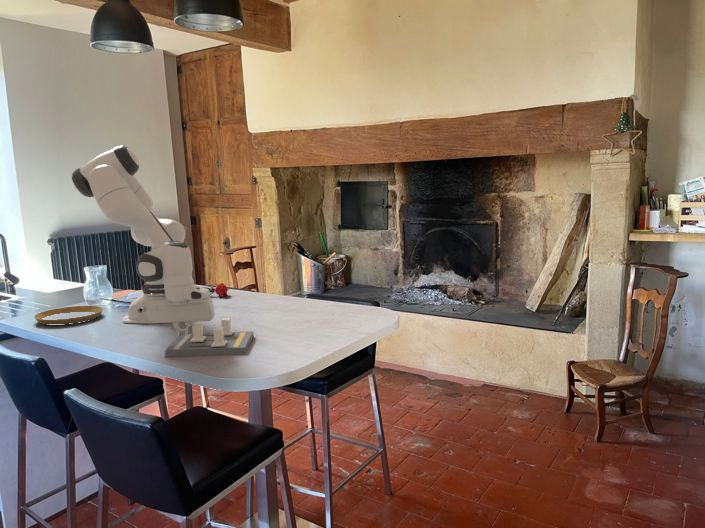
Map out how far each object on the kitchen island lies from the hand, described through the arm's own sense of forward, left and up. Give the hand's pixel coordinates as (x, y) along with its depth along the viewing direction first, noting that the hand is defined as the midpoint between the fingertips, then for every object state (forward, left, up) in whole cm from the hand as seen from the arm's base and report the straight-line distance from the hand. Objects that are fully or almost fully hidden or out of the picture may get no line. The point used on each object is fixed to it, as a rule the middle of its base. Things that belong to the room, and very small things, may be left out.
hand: (183, 335), depth 172 cm
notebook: (-46, +82, -5) cm, 94 cm away
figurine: (-7, +78, -4) cm, 78 cm away
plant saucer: (-56, +44, -5) cm, 72 cm away
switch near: (+13, -6, -2) cm, 14 cm away
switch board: (+9, 0, -4) cm, 10 cm away
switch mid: (+5, 0, -2) cm, 5 cm away
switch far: (+13, +6, -2) cm, 14 cm away
